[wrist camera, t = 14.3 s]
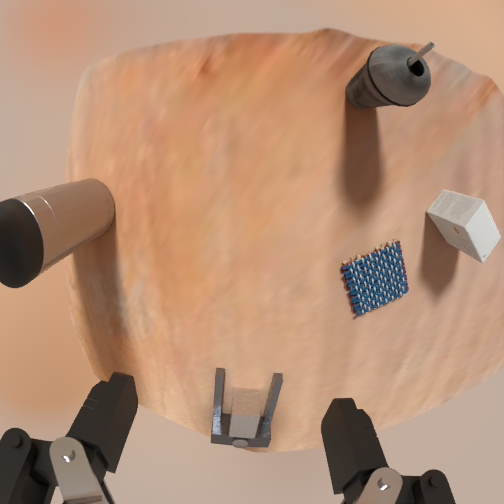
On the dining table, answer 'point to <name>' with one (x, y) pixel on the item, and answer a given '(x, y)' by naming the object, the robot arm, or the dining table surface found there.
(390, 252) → the woven mat
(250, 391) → the block
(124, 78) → the dining table surface
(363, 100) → the beverage cup
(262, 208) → the dining table surface
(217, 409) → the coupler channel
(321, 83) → the dining table surface
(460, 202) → the small box
